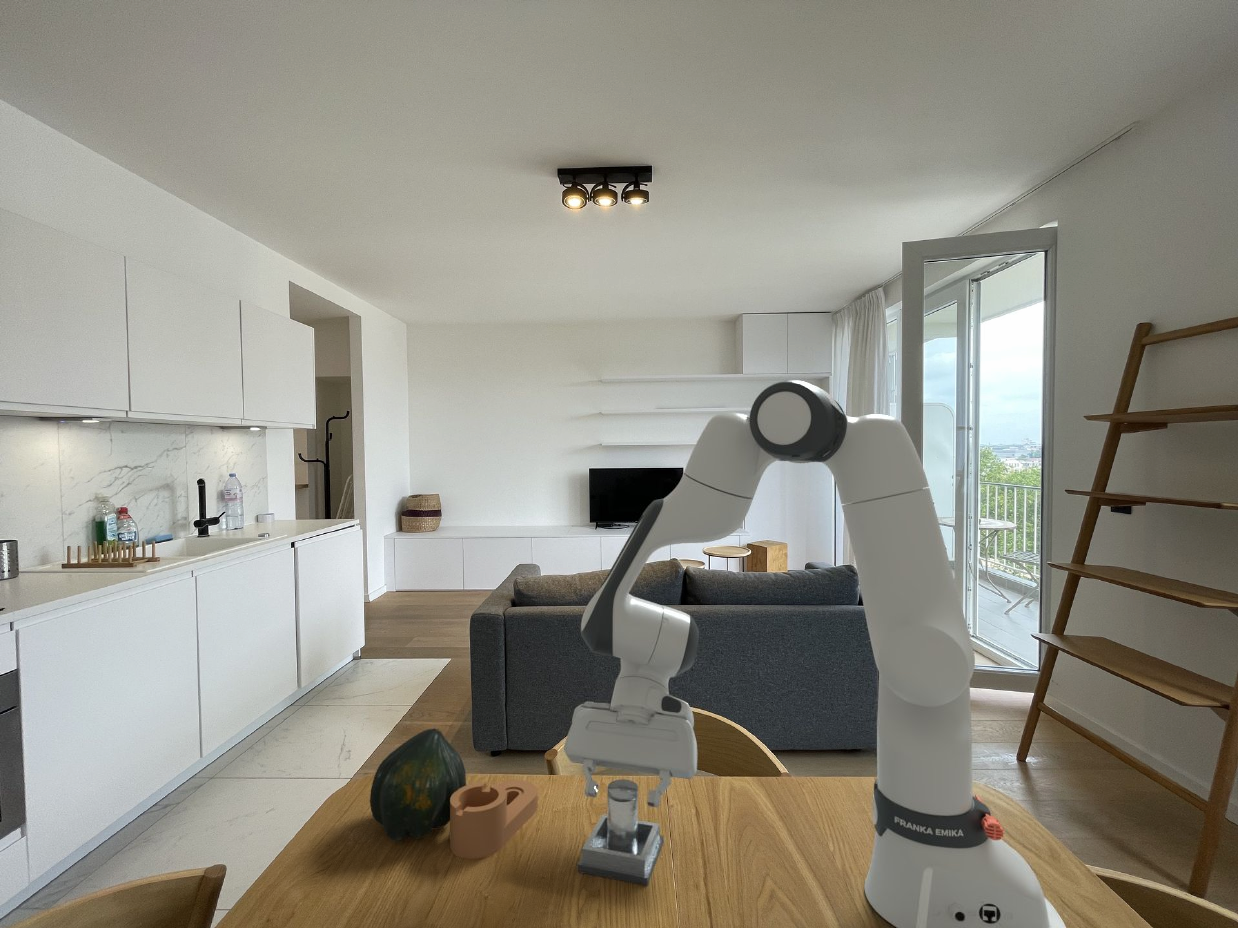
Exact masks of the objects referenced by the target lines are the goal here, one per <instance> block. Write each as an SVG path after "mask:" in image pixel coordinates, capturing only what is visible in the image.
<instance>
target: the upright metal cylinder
mask: <svg viewBox="0 0 1238 928" xmlns="http://www.w3.org/2000/svg"><path fill="white" fill-rule="evenodd" d="M606 808H607V814H606V815H607V850H613V851H618V852H624V853H629V854H634V855H636V853H637V851H638V820H639V786H638V783H636V782H635V781H633V780H629V779H615V780H613V781H611V782H609V784H608V785H607V807H606Z"/></svg>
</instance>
